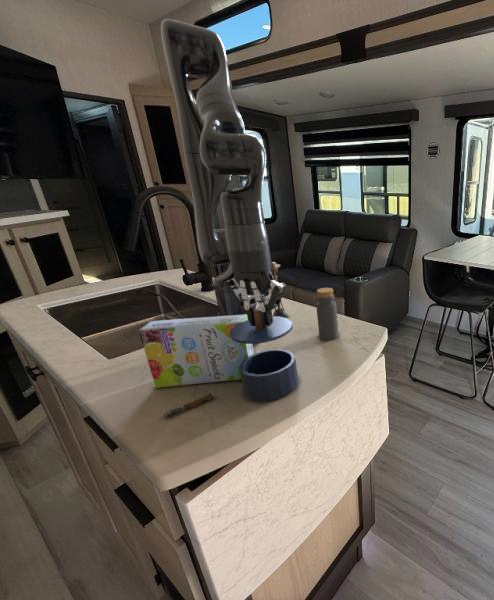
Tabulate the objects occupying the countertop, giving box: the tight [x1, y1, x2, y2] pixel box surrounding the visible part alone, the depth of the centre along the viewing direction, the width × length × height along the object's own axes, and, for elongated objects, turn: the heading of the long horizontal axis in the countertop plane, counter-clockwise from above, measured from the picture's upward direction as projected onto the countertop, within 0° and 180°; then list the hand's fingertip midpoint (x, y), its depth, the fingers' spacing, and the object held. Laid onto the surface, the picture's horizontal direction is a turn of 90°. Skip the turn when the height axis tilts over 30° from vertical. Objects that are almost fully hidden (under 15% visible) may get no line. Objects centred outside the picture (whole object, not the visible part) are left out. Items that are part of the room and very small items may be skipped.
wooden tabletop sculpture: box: [271, 261, 289, 319], centre depth 109 cm, size 6×5×20 cm
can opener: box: [163, 393, 214, 418], centre depth 66 cm, size 9×2×1 cm, turn 130°
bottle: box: [315, 287, 339, 341], centre depth 96 cm, size 6×6×15 cm
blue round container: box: [240, 348, 299, 403], centre depth 73 cm, size 12×12×6 cm
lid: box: [230, 306, 294, 345], centre depth 68 cm, size 13×13×6 cm
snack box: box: [138, 314, 255, 389], centre depth 75 cm, size 21×6×15 cm, turn 100°
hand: (261, 325), depth 69 cm, fingers closed on lid, 2 cm apart
